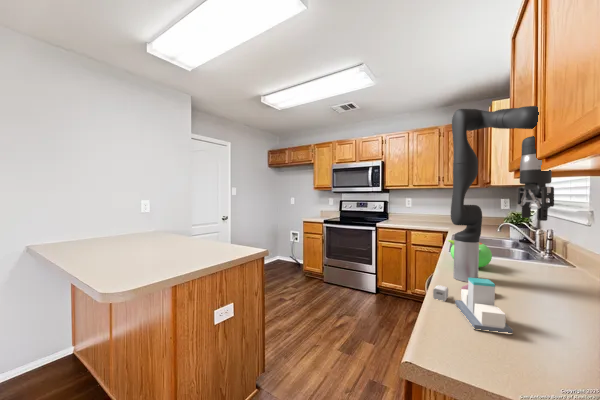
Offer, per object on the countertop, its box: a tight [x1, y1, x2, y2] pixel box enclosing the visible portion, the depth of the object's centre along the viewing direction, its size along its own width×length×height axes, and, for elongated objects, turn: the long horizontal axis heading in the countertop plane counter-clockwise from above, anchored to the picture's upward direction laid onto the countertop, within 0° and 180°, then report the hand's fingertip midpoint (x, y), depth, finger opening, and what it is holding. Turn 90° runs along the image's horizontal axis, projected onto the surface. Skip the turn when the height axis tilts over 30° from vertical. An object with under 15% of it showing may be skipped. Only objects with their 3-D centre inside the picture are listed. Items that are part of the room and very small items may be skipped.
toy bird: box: [447, 239, 493, 268], centre depth 131 cm, size 18×17×15 cm
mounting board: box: [454, 288, 514, 333], centre depth 77 cm, size 17×9×6 cm, turn 164°
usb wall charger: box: [432, 284, 449, 302], centre depth 92 cm, size 4×7×4 cm, turn 139°
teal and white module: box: [467, 277, 496, 313], centre depth 77 cm, size 4×6×10 cm
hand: (533, 219), depth 81 cm, fingers open, 8 cm apart
